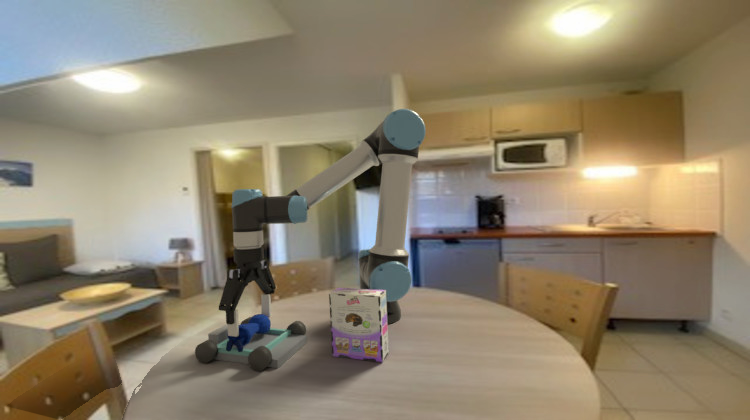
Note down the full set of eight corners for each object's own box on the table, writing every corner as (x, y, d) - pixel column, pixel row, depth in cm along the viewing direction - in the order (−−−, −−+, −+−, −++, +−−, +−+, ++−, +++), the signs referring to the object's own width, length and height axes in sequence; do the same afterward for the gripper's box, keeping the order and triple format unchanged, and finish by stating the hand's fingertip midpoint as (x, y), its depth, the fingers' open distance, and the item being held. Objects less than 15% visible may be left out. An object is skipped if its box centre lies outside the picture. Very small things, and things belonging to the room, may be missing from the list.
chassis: (311, 339, 93) (310, 321, 93) (271, 373, 75) (270, 352, 75) (241, 331, 100) (241, 315, 100) (190, 361, 83) (189, 342, 82)
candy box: (389, 352, 84) (387, 289, 83) (382, 363, 78) (380, 295, 77) (340, 346, 88) (338, 286, 87) (331, 356, 82) (328, 292, 82)
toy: (246, 354, 79) (276, 326, 94) (244, 330, 79) (274, 306, 94) (222, 353, 81) (255, 326, 95) (219, 329, 80) (253, 305, 95)
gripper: (265, 240, 100) (267, 309, 100) (199, 254, 76) (203, 343, 77) (286, 241, 98) (288, 311, 98) (226, 255, 74) (229, 347, 75)
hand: (251, 325), depth 88 cm, fingers closed on toy, 13 cm apart
